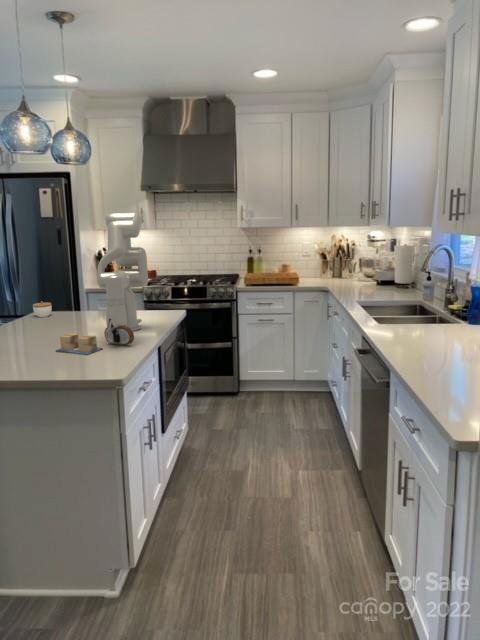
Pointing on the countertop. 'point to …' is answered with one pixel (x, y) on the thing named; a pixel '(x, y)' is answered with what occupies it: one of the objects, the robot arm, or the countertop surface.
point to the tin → (124, 333)
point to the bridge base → (78, 344)
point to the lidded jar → (42, 309)
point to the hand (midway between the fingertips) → (119, 340)
